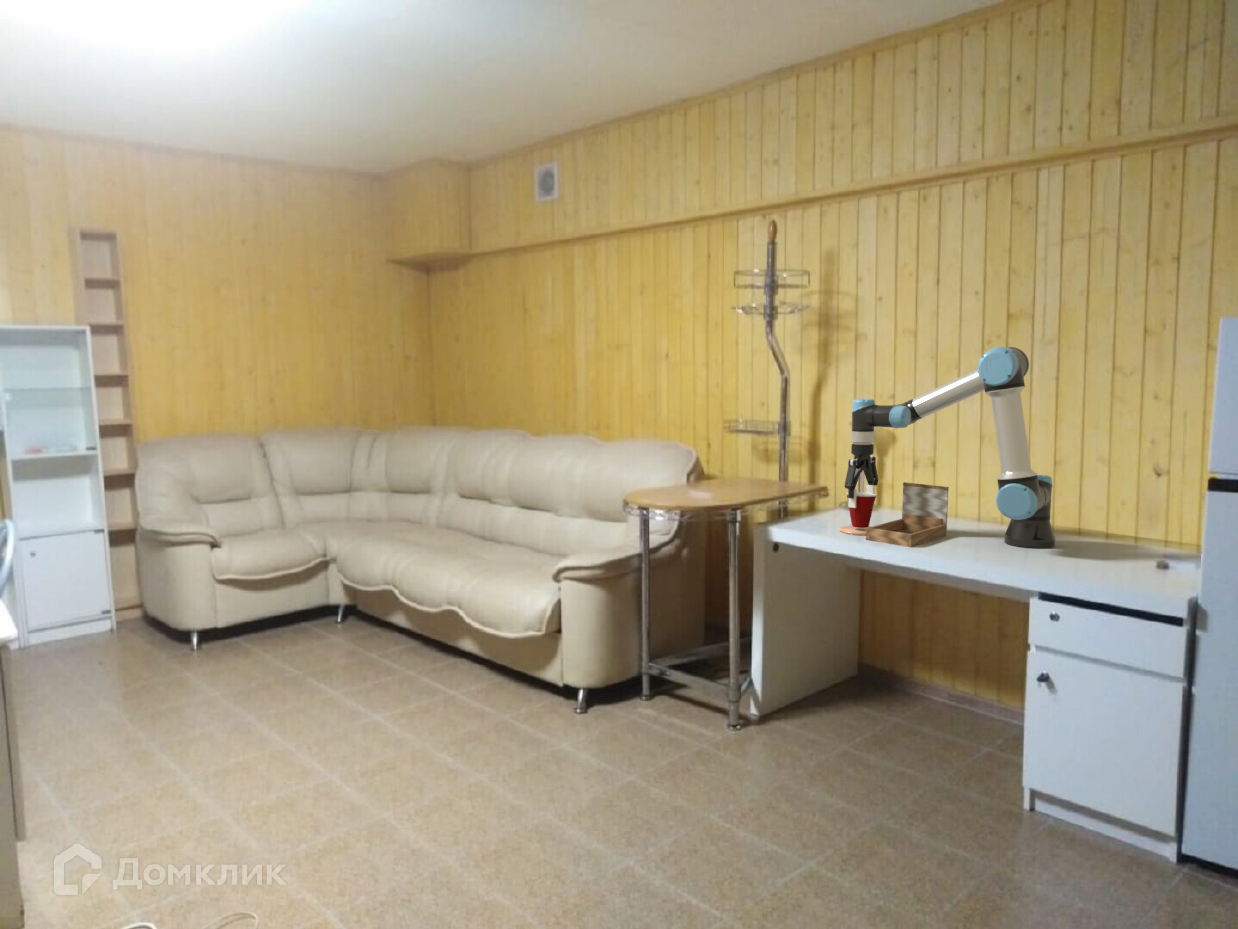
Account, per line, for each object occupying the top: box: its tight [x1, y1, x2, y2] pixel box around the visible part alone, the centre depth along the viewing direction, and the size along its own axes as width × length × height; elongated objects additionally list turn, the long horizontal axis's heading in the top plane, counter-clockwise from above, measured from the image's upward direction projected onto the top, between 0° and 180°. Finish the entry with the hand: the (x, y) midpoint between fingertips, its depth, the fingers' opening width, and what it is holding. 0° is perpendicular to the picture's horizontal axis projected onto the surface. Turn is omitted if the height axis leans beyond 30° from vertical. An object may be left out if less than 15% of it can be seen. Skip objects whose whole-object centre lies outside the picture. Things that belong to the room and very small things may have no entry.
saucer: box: [839, 525, 872, 537], centre depth 312 cm, size 14×14×1 cm
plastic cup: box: [845, 491, 878, 528], centre depth 311 cm, size 11×11×12 cm
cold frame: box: [865, 481, 949, 548], centre depth 300 cm, size 16×24×17 cm
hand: (861, 505), depth 311 cm, fingers closed on plastic cup, 11 cm apart
